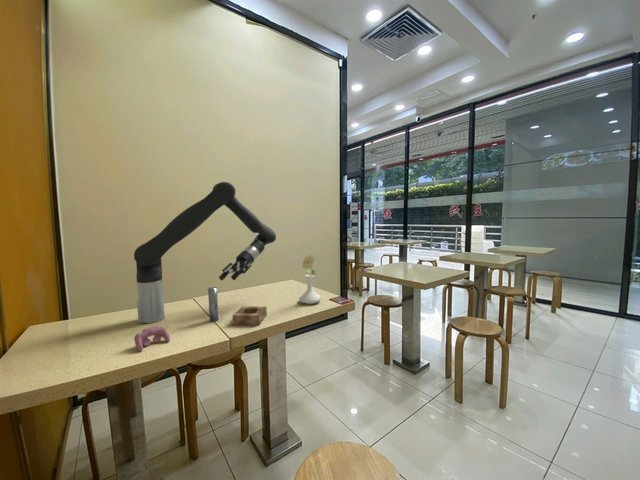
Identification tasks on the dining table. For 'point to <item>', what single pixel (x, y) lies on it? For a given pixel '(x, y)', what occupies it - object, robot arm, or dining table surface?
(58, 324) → the dining table surface
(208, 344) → the dining table surface
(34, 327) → the dining table surface
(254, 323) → the square wooden ashtray
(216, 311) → the metal rod
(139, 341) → the pink curved piece
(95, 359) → the dining table surface
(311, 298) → the flower in vase
